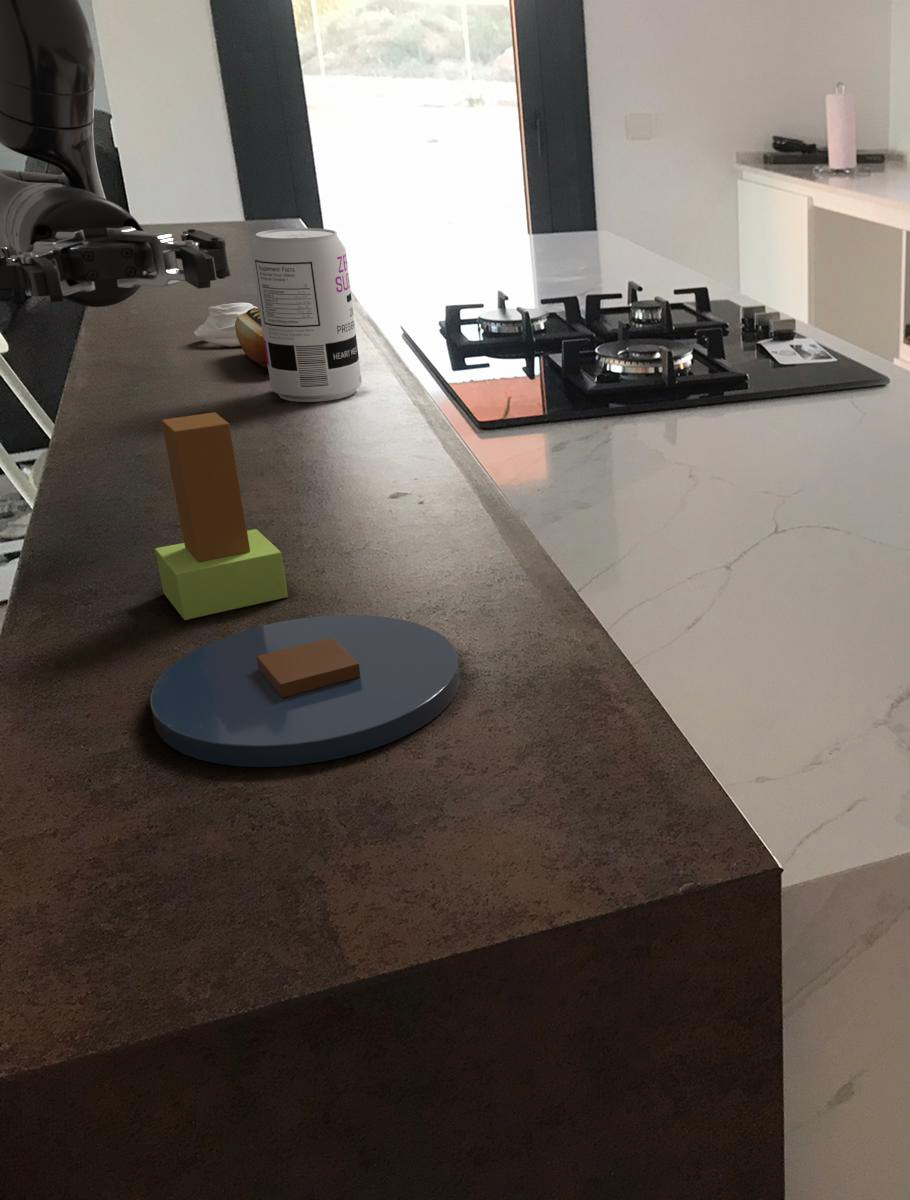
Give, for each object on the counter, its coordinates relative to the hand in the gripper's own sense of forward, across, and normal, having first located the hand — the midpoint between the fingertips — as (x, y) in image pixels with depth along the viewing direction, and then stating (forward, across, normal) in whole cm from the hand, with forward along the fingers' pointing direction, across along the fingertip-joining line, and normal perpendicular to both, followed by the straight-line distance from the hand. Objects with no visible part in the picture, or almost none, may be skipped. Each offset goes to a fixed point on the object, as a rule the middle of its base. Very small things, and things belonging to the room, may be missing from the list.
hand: (131, 278), depth 80 cm
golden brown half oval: (-50, +21, +18) cm, 57 cm away
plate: (+27, 0, +17) cm, 32 cm away
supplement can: (-35, +21, +18) cm, 44 cm away
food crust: (+27, 0, +16) cm, 32 cm away
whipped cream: (-63, +21, +18) cm, 69 cm away
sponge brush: (+11, 0, +18) cm, 21 cm away
